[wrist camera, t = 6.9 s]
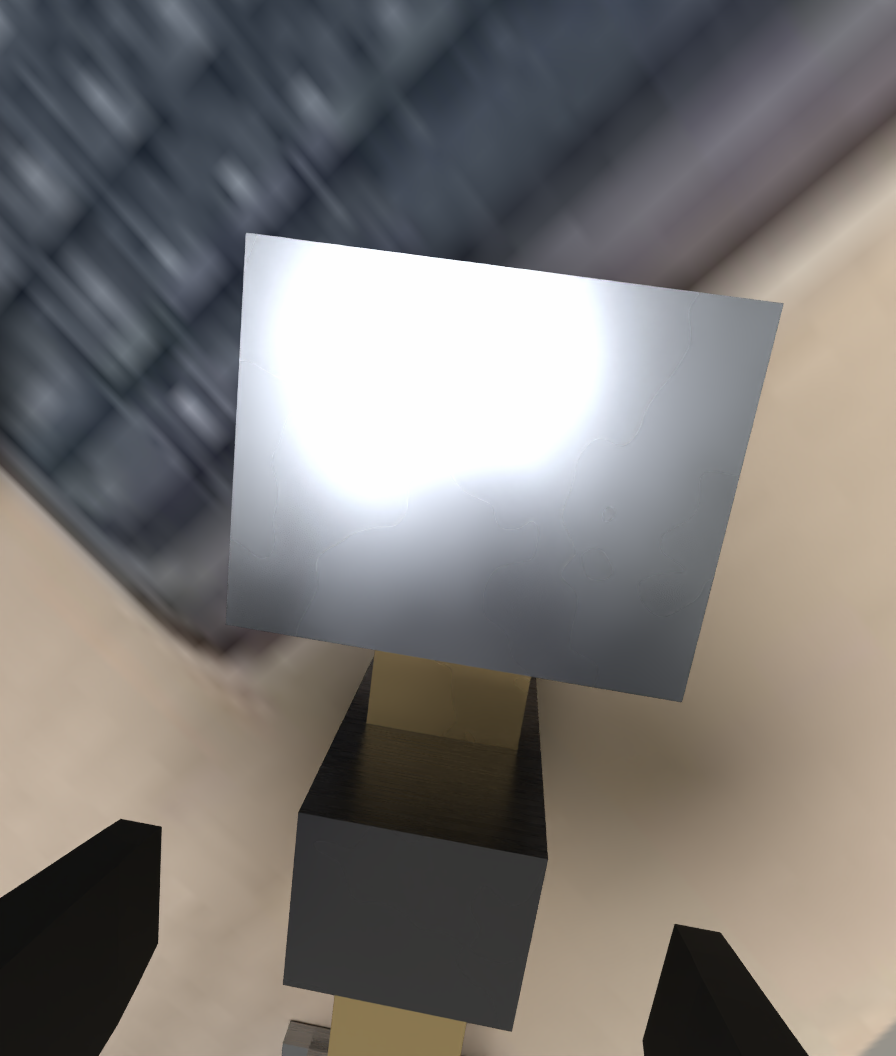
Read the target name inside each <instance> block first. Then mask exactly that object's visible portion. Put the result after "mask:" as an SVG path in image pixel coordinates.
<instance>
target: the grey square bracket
mask: <svg viewBox="0 0 896 1056" xmlns="http://www.w3.org/2000/svg"><path fill="white" fill-rule="evenodd" d="M783 304H784V303H776V302H769V301H761V300H753V299H746V298H738V297H731V296H723V295H715V294H708V293H700V292H693V291H685V290H677V289H670V288H662V287H654V286H647V285H639V284H632V283H624V282H616V281H609V280H601V279H594V278H586V277H578V276H571V275H563V274H555V273H548V272H540V271H533V270H525V269H517V268H510V267H502V266H495V265H487V264H479V263H472V262H464V261H456V260H449V259H441V258H434V257H426V256H418V255H411V254H403V253H396V252H388V251H380V250H373V249H365V248H357V247H350V246H342V245H335V244H327V243H319V242H312V241H304V240H297V239H289V238H281V237H274V236H266V235H259V234H251V233H246V244H245V263H244V282H243V302H242V321H241V340H240V359H239V379H238V398H237V417H236V437H235V456H234V475H233V495H232V514H231V533H230V552H229V572H228V591H227V610H226V625H231V626H237V627H243V628H249V629H255V630H261V631H267V632H273V633H278V634H284V635H290V636H296V637H302V638H308V639H314V640H319V641H325V642H331V643H337V644H343V645H349V646H355V647H360V648H366V649H372V650H378V651H384V652H390V653H396V654H401V655H407V656H413V657H419V658H425V659H431V660H437V661H442V662H448V663H454V664H460V665H466V666H472V667H478V668H483V669H489V670H495V671H501V672H507V673H513V674H519V675H524V676H530V677H536V678H542V679H548V680H554V681H560V682H565V683H571V684H577V685H583V686H589V687H595V688H601V689H606V690H612V691H618V692H624V693H630V694H636V695H642V696H647V697H653V698H659V699H665V700H671V701H677V702H682V700H683V696H684V692H685V688H686V684H687V680H688V677H689V673H690V669H691V665H692V661H693V657H694V653H695V649H696V645H697V641H698V637H699V633H700V629H701V626H702V622H703V618H704V614H705V610H706V606H707V602H708V598H709V594H710V590H711V586H712V582H713V578H714V575H715V571H716V567H717V563H718V559H719V555H720V551H721V547H722V543H723V539H724V535H725V531H726V527H727V524H728V520H729V516H730V512H731V508H732V504H733V500H734V496H735V492H736V488H737V484H738V480H739V476H740V473H741V469H742V465H743V461H744V457H745V453H746V449H747V445H748V441H749V437H750V433H751V429H752V425H753V422H754V418H755V414H756V410H757V406H758V402H759V398H760V394H761V390H762V386H763V382H764V378H765V374H766V371H767V367H768V363H769V359H770V355H771V351H772V347H773V343H774V339H775V335H776V331H777V327H778V323H779V320H780V316H781V312H782V308H783Z"/></svg>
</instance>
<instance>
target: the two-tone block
mask: <svg viewBox="0 0 896 1056" xmlns="http://www.w3.org/2000/svg"><path fill="white" fill-rule="evenodd" d="M547 862H548V852H547V838H546V823H545V808H544V794H543V779H542V764H541V750H540V735H539V720H538V706H537V691H536V677H530V676H524V675H519V674H513V673H507V672H501V671H495V670H489V669H483V668H478V667H472V666H466V665H460V664H454V663H448V662H442V661H437V660H431V659H425V658H419V657H413V656H407V655H401V654H396V653H390V652H384V651H378V650H375V654H374V657H373V659H372V661H371V664H370V666H369V668H368V670H367V672H366V674H365V676H364V678H363V680H362V682H361V684H360V686H359V688H358V690H357V692H356V695H355V697H354V699H353V701H352V703H351V705H350V707H349V709H348V711H347V713H346V715H345V717H344V719H343V721H342V723H341V726H340V728H339V730H338V732H337V734H336V736H335V738H334V740H333V742H332V744H331V746H330V748H329V750H328V752H327V755H326V757H325V759H324V761H323V763H322V765H321V767H320V769H319V771H318V773H317V775H316V777H315V779H314V781H313V783H312V786H311V788H310V790H309V792H308V794H307V796H306V798H305V800H304V802H303V804H302V806H301V808H300V810H299V812H298V823H297V834H296V846H295V857H294V868H293V879H292V890H291V901H290V912H289V923H288V934H287V945H286V957H285V968H284V979H283V985H287V986H292V987H297V988H302V989H307V990H311V991H316V992H321V993H326V994H331V995H335V996H334V1005H333V1014H332V1022H331V1031H330V1039H329V1048H328V1056H460V1055H461V1049H462V1044H463V1039H464V1033H465V1028H466V1023H472V1024H477V1025H482V1026H487V1027H492V1028H496V1029H501V1030H506V1031H511V1032H512V1028H513V1023H514V1019H515V1014H516V1009H517V1004H518V1000H519V995H520V990H521V985H522V981H523V976H524V971H525V966H526V962H527V957H528V952H529V947H530V942H531V938H532V933H533V928H534V923H535V919H536V914H537V909H538V904H539V900H540V895H541V890H542V885H543V881H544V876H545V871H546V866H547Z"/></svg>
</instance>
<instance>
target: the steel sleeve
mask: <svg viewBox="0 0 896 1056" xmlns="http://www.w3.org/2000/svg"><path fill="white" fill-rule="evenodd" d="M330 1031H331V1030H330V1029H326V1028H321V1027H316V1026H311V1025H306V1024H302V1023H297V1022H292V1021H290V1024H289V1027H288V1030H287V1033H286V1035H285V1038H284V1041H283V1047H282V1056H328V1048H329V1039H330Z"/></svg>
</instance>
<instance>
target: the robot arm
mask: <svg viewBox="0 0 896 1056" xmlns="http://www.w3.org/2000/svg"><path fill="white" fill-rule="evenodd" d="M161 832H162V827H160V826H155V825H150V824H145V823H139V822H134V821H129V820H123V819H120V820H118V821H117V822H115V823H114V824H112V825H110V826H109V827H107V828H106V829H104V830H103V831H101V832H100V833H98V834H97V835H95V836H93V837H92V838H90V839H89V840H87V841H86V842H84V843H83V844H81V845H80V846H78V847H77V848H75V849H74V850H72V851H71V852H69V853H68V854H66V855H65V856H63V857H62V858H60V859H59V860H57V861H56V862H54V863H53V864H51V865H50V866H48V867H47V868H45V869H44V870H42V871H41V872H39V873H38V874H36V875H35V876H33V877H32V878H30V879H29V880H27V881H26V882H24V883H22V884H21V885H19V886H18V887H16V888H15V889H13V890H12V891H10V892H9V893H7V894H6V895H4V896H3V897H1V898H0V1056H99V1054H100V1053H101V1051H102V1049H103V1048H104V1046H105V1044H106V1043H107V1041H108V1040H109V1038H110V1036H111V1035H112V1033H113V1031H114V1030H115V1028H116V1026H117V1025H118V1023H119V1021H120V1019H121V1017H122V1015H123V1013H124V1011H125V1009H126V1007H127V1005H128V1003H129V1001H130V999H131V997H132V995H133V994H134V992H135V990H136V988H137V986H138V984H139V981H140V979H141V977H142V975H143V973H144V971H145V969H146V967H147V965H148V963H149V961H150V959H151V957H152V955H153V953H154V951H155V949H156V947H157V944H158V930H159V897H160V865H161ZM643 1048H644V1056H809V1055H808V1054H807V1053H806V1051H805V1050H804V1049H803V1047H802V1046H801V1044H800V1043H799V1042H798V1040H797V1039H796V1038H795V1036H794V1035H793V1033H792V1032H791V1031H790V1029H789V1028H788V1026H787V1025H786V1024H785V1022H784V1021H783V1019H782V1018H781V1017H780V1015H779V1014H778V1012H777V1011H776V1010H775V1008H774V1007H773V1005H772V1004H771V1003H770V1001H769V1000H768V998H767V997H766V996H765V994H764V993H763V991H762V990H761V989H760V987H759V986H758V984H757V983H756V981H755V980H754V979H753V977H752V976H751V974H750V973H749V972H748V970H747V969H746V967H745V966H744V965H743V963H742V962H741V960H740V959H739V957H738V956H737V955H736V953H735V952H734V950H733V949H732V948H731V946H730V945H729V943H728V942H727V941H726V939H725V938H724V937H723V935H722V934H721V933H720V932H715V931H710V930H704V929H699V928H694V927H688V926H683V925H678V924H675V925H674V928H673V932H672V936H671V939H670V943H669V947H668V950H667V954H666V957H665V961H664V965H663V968H662V972H661V976H660V979H659V983H658V986H657V990H656V994H655V997H654V1001H653V1005H652V1008H651V1012H650V1016H649V1019H648V1023H647V1026H646V1030H645V1034H644V1037H643Z"/></svg>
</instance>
